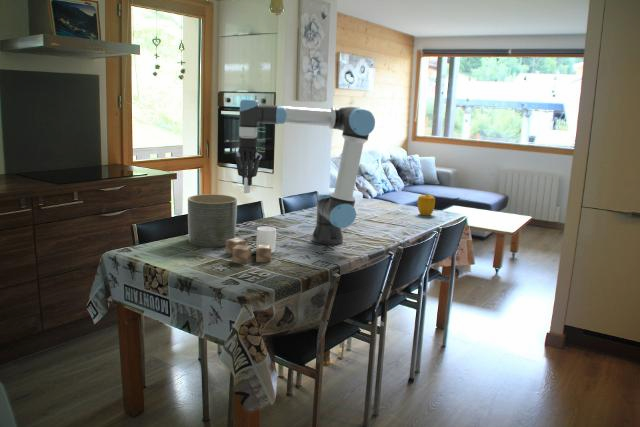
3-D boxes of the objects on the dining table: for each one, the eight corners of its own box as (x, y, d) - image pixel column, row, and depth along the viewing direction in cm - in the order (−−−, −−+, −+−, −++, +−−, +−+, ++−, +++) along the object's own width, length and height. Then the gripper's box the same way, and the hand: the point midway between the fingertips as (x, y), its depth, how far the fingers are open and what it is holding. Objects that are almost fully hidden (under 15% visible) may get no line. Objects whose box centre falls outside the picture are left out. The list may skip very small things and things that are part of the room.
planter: (177, 243, 248) (177, 199, 244) (204, 233, 268) (205, 192, 264) (220, 250, 241) (221, 205, 236) (244, 239, 261) (245, 197, 257)
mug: (268, 245, 251) (268, 224, 249) (283, 249, 248) (284, 226, 245) (252, 251, 241) (253, 228, 239) (268, 254, 237) (268, 231, 235)
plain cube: (251, 259, 229) (251, 246, 228) (246, 264, 223) (246, 249, 222) (237, 258, 230) (237, 244, 229) (232, 262, 224) (232, 248, 223)
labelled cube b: (271, 258, 233) (271, 244, 232) (270, 262, 227) (271, 248, 226) (256, 257, 233) (257, 244, 231) (256, 262, 227) (256, 248, 225)
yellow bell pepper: (421, 212, 347) (422, 192, 344) (436, 215, 341) (438, 194, 338) (413, 214, 338) (415, 194, 335) (429, 217, 332) (431, 196, 329)
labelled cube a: (245, 253, 238) (246, 239, 237) (235, 255, 234) (236, 242, 233) (236, 250, 242) (236, 237, 241) (226, 253, 237) (226, 239, 236)
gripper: (266, 137, 230) (264, 193, 235) (239, 135, 235) (237, 189, 240) (257, 138, 223) (256, 195, 228) (230, 136, 228) (229, 192, 233)
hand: (246, 192), depth 234 cm, fingers closed
